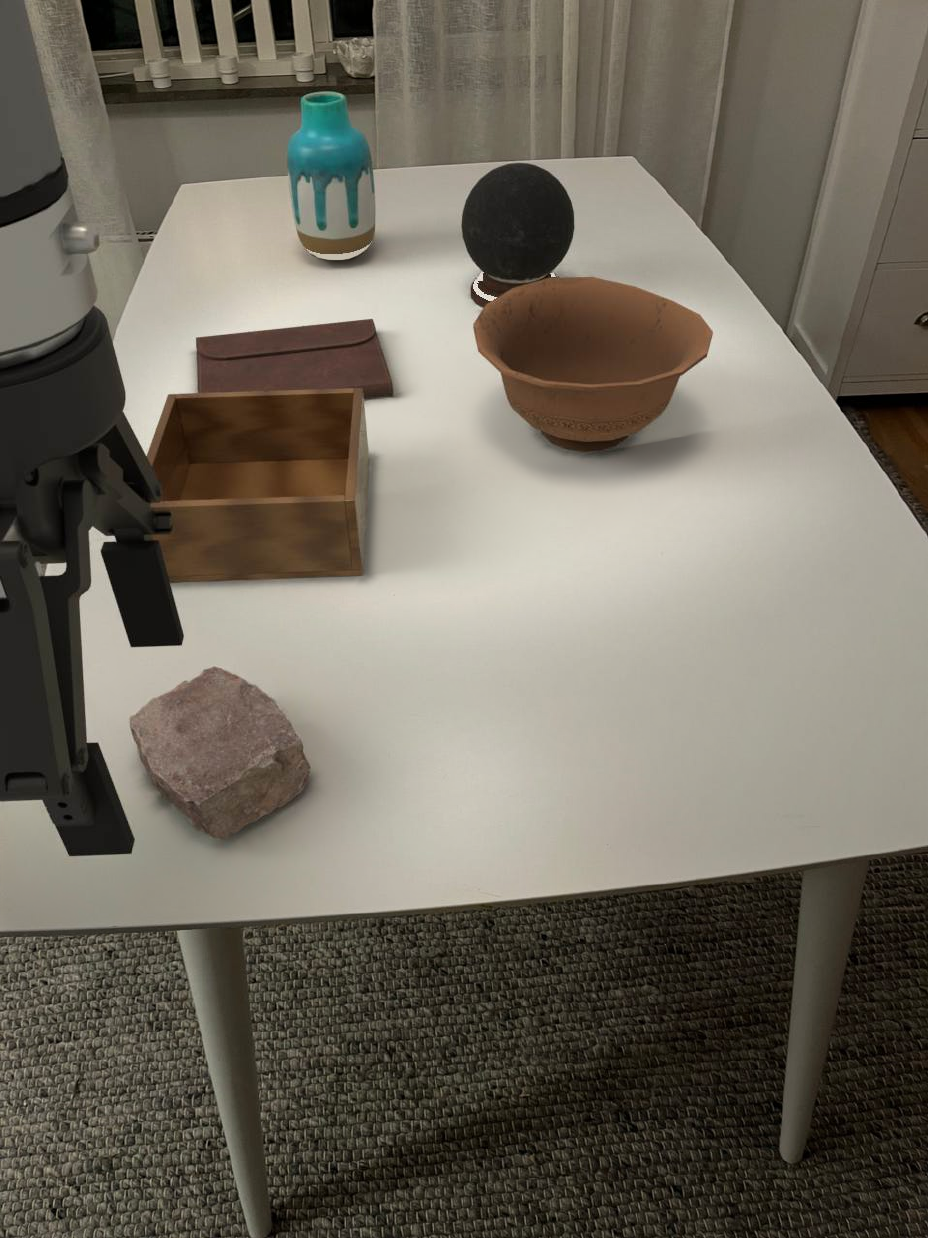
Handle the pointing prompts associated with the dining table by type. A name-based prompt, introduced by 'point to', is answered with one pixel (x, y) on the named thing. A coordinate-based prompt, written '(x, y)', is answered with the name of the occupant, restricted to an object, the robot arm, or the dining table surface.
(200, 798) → the stone
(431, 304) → the dining table surface
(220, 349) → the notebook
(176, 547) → the box
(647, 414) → the bowl
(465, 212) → the black ball on stand
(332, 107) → the vase
